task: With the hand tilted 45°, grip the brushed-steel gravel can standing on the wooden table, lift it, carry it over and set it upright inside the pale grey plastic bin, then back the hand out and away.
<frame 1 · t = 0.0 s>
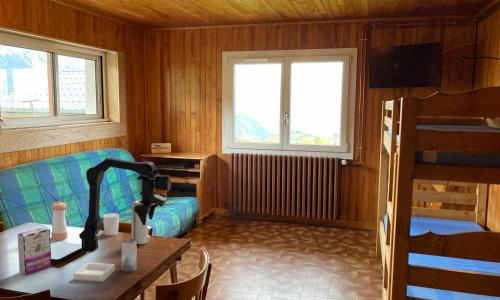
hand: (147, 222, 184), 15 cm above the table, tool pointing down, fingers open, 9 cm apart
gravel can: (129, 268, 167), on the table
white cup: (111, 233, 212), on the table
candy bar box: (35, 270, 163), on the table
bin: (95, 274, 160), on the table
paper towel roll: (140, 242, 199), on the table
pepper shaker: (59, 238, 202), on the table
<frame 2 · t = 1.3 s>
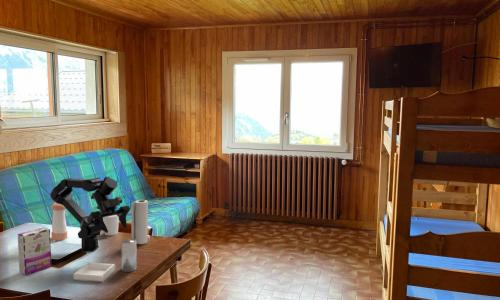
hand: (116, 230, 175), 14 cm above the table, tool tilted 45°, fingers open, 9 cm apart
nothing on the table moved.
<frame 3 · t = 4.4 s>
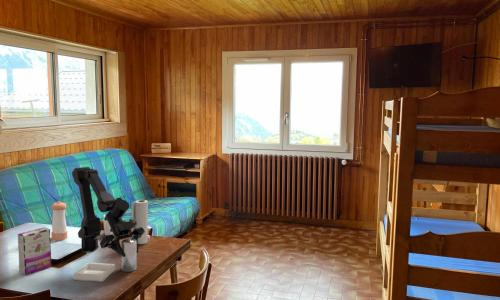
hand: (130, 254, 166), 7 cm above the table, tool tilted 45°, fingers closed on gravel can, 6 cm apart
gravel can: (129, 268, 167), on the table, touching gripper
everything else where it was.
when the fingers open (8 cm above the table, at t = 9.2 s): gravel can drops 1 cm, resting on bin.
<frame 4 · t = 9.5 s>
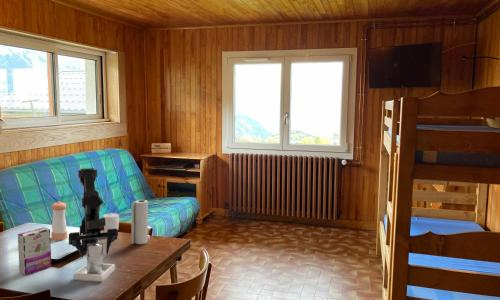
hand: (95, 255, 158), 9 cm above the table, tool tilted 45°, fingers open, 9 cm apart
gravel can: (94, 273, 160), point 1 cm above the table, touching bin
everything else where it was.
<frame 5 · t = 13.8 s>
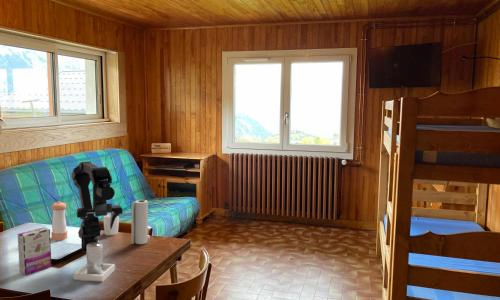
hand: (99, 230, 176), 13 cm above the table, tool pointing down, fingers open, 9 cm apart
nothing on the table moved.
at the end: gravel can 0.1 cm off-centre on the bin, point 0.5 cm above the bin's base; gravel can tilted 0°; the gripper is holding nothing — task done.
